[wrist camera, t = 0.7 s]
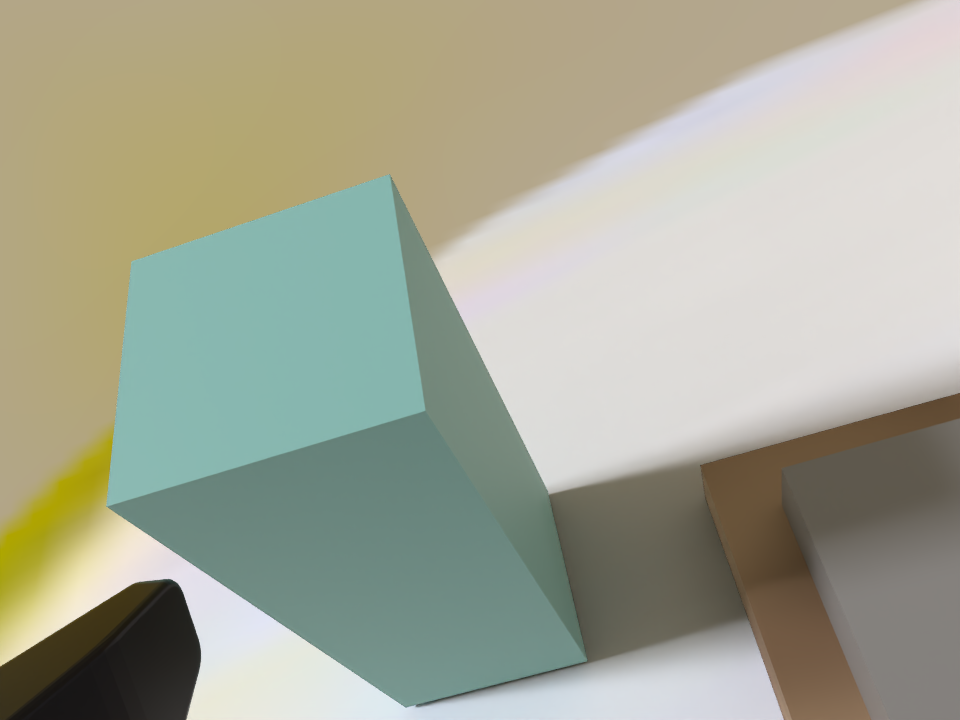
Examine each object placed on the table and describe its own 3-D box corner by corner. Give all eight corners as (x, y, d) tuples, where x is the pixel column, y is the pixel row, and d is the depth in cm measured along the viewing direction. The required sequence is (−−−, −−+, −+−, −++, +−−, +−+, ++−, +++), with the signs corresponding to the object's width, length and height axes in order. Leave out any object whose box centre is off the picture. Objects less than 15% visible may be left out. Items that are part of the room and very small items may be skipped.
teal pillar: (587, 660, 23) (425, 410, 12) (405, 707, 23) (106, 506, 13) (547, 490, 26) (389, 174, 15) (386, 536, 26) (131, 261, 16)
